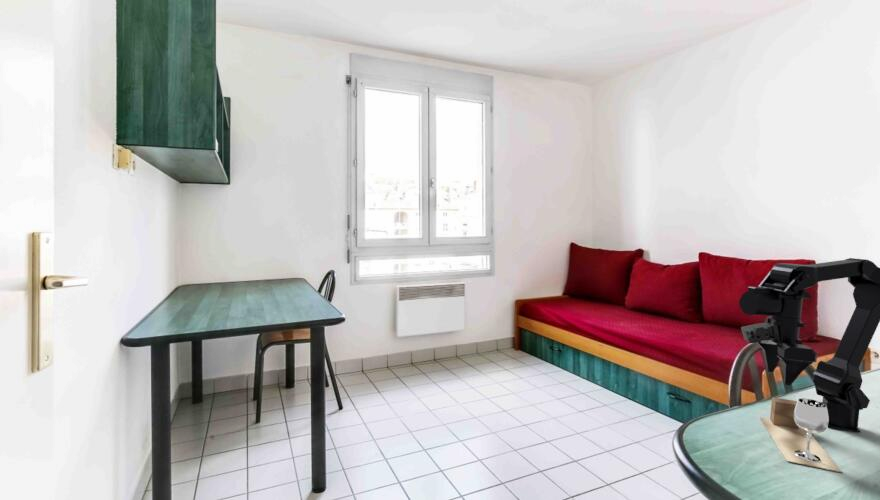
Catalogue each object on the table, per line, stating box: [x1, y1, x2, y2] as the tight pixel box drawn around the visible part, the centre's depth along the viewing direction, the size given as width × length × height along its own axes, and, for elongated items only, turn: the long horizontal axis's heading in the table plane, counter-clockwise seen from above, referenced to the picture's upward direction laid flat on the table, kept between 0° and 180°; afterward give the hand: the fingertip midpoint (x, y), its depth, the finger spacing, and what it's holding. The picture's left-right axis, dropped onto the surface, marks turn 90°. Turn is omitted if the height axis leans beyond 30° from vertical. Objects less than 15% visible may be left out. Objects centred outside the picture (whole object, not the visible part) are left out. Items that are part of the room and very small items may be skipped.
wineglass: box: [793, 398, 829, 462], centre depth 93 cm, size 6×6×12 cm
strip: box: [759, 396, 843, 473], centre depth 100 cm, size 9×22×6 cm, turn 156°
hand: (778, 378), depth 106 cm, fingers open, 9 cm apart
